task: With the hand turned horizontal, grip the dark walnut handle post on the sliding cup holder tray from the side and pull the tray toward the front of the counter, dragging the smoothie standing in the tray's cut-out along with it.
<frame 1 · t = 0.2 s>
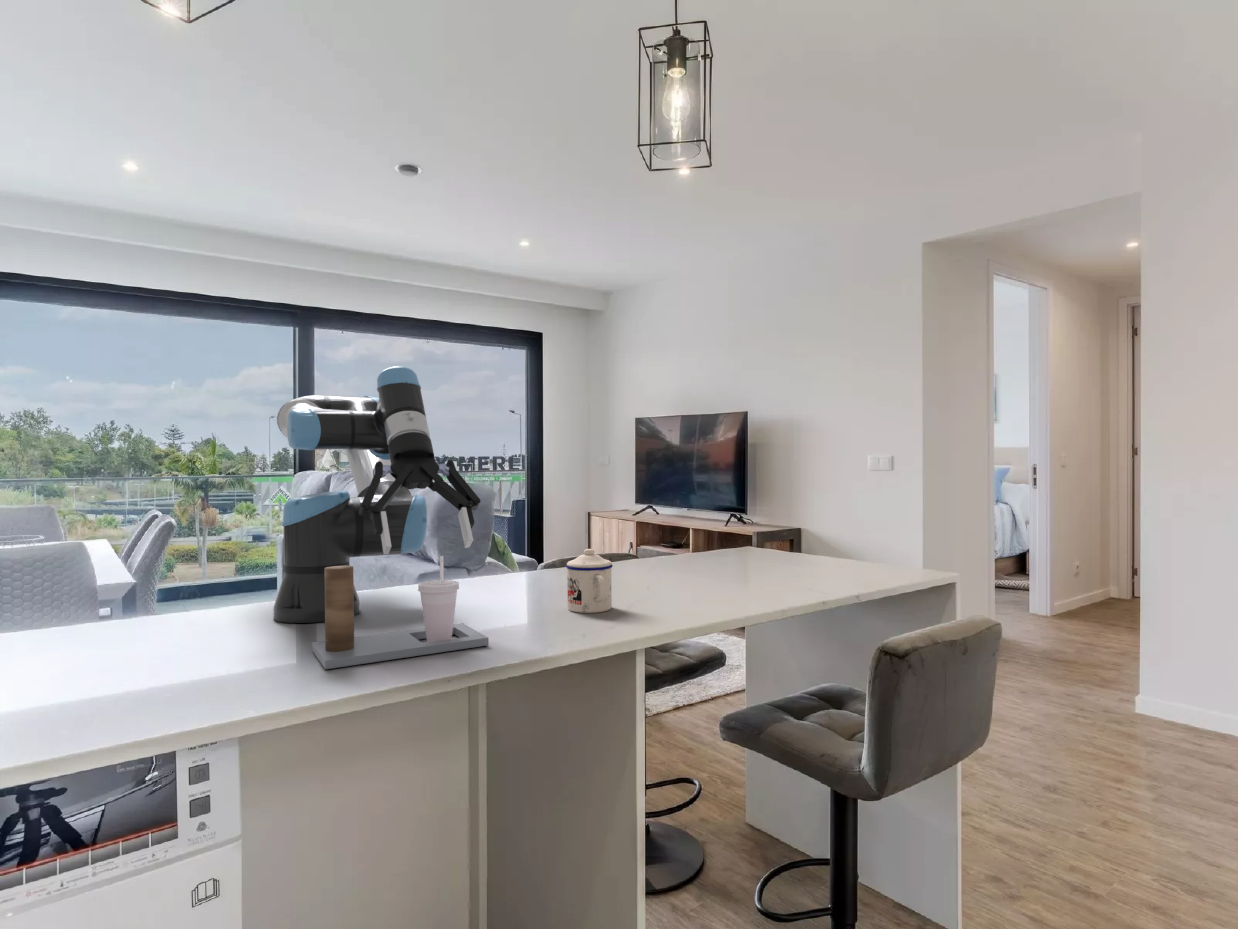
hand: (429, 547, 119), 15 cm above the table, tool tilted 35°, fingers open, 13 cm apart
smoothie: (439, 644, 115), resting in cup holder tray
cup holder tray: (400, 605, 111), point 7 cm above the table, slide at 0.0 cm
teacup with lid: (592, 611, 139), on the table
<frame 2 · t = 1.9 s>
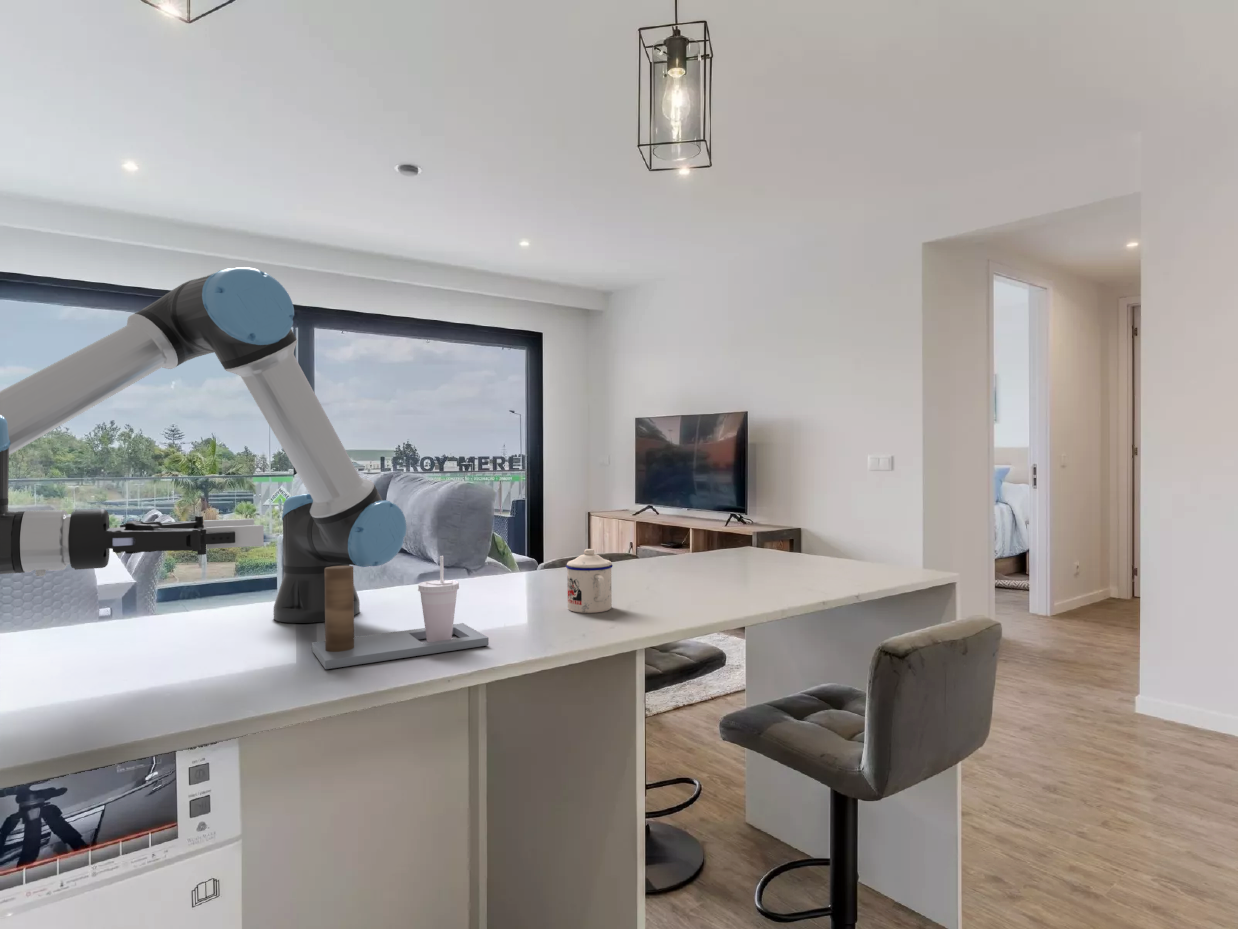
hand: (258, 531, 101), 19 cm above the table, tool horizontal, fingers open, 13 cm apart
nothing on the table moved.
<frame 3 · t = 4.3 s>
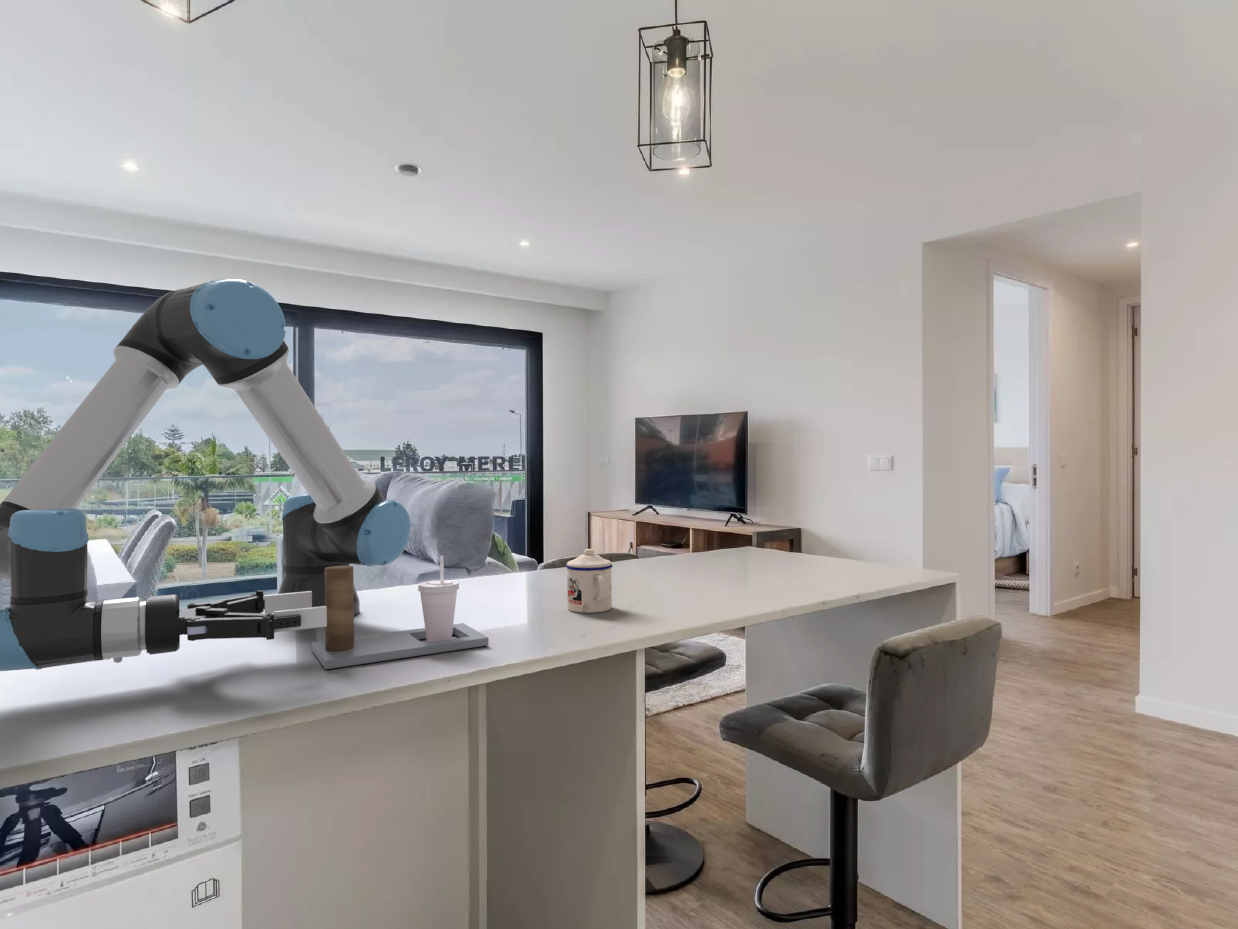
hand: (318, 607, 105), 8 cm above the table, tool horizontal, fingers open, 13 cm apart
nothing on the table moved.
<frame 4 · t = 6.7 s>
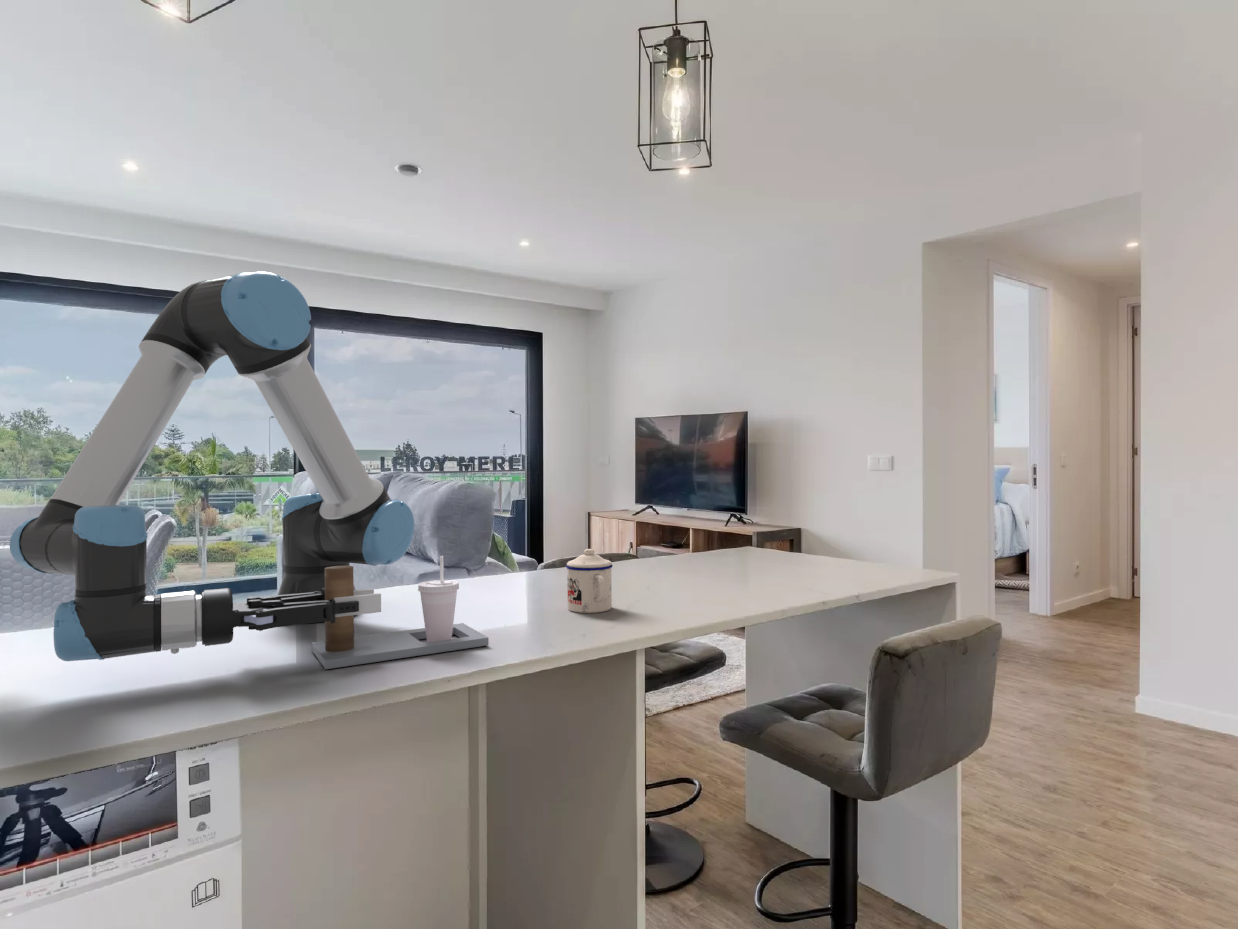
hand: (376, 600, 110), 8 cm above the table, tool horizontal, fingers closed on cup holder tray, 4 cm apart
cup holder tray: (400, 605, 111), point 7 cm above the table, slide at 0.0 cm, touching gripper
everything else where it was.
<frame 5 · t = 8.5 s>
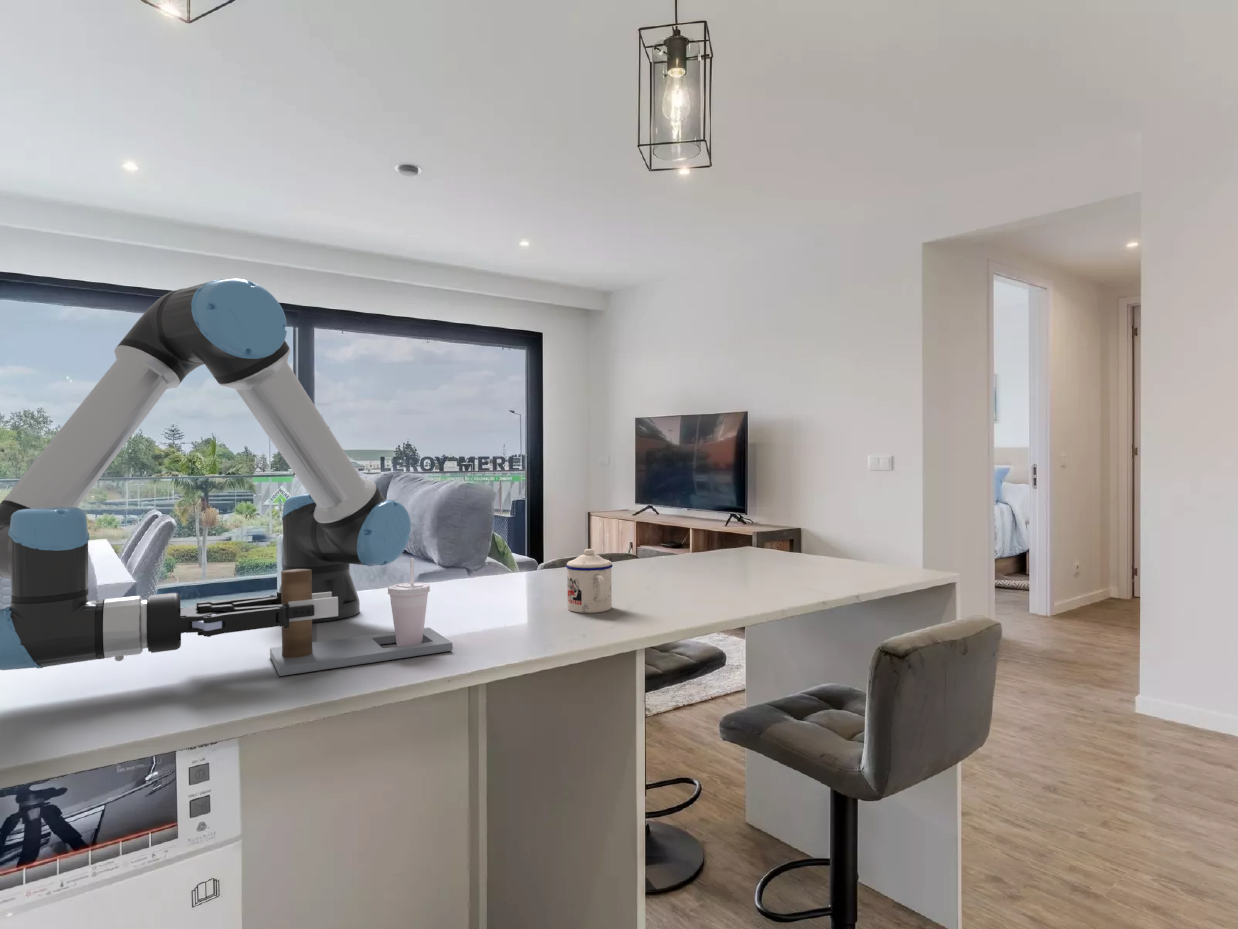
hand: (334, 603, 106), 8 cm above the table, tool horizontal, fingers closed on cup holder tray, 4 cm apart
smoothie: (409, 648, 112), resting in cup holder tray
cup holder tray: (361, 609, 108), point 7 cm above the table, slide at 5.8 cm, touching gripper, smoothie
everything else where it was.
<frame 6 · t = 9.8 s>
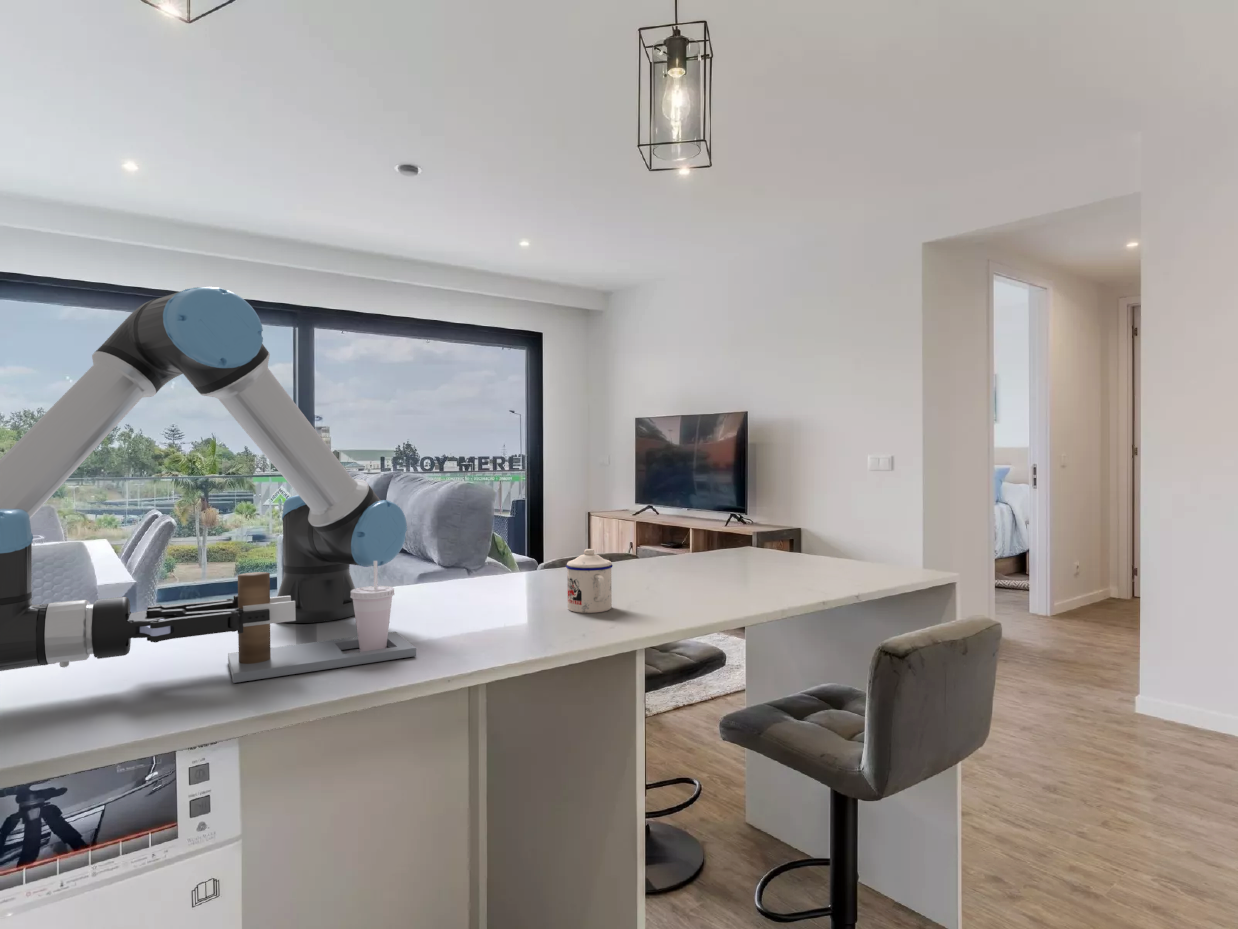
hand: (292, 607, 103), 8 cm above the table, tool horizontal, fingers closed on cup holder tray, 4 cm apart
smoothie: (373, 654, 109), resting in cup holder tray
cup holder tray: (322, 613, 106), point 7 cm above the table, slide at 11.3 cm, touching gripper, smoothie
everything else where it was.
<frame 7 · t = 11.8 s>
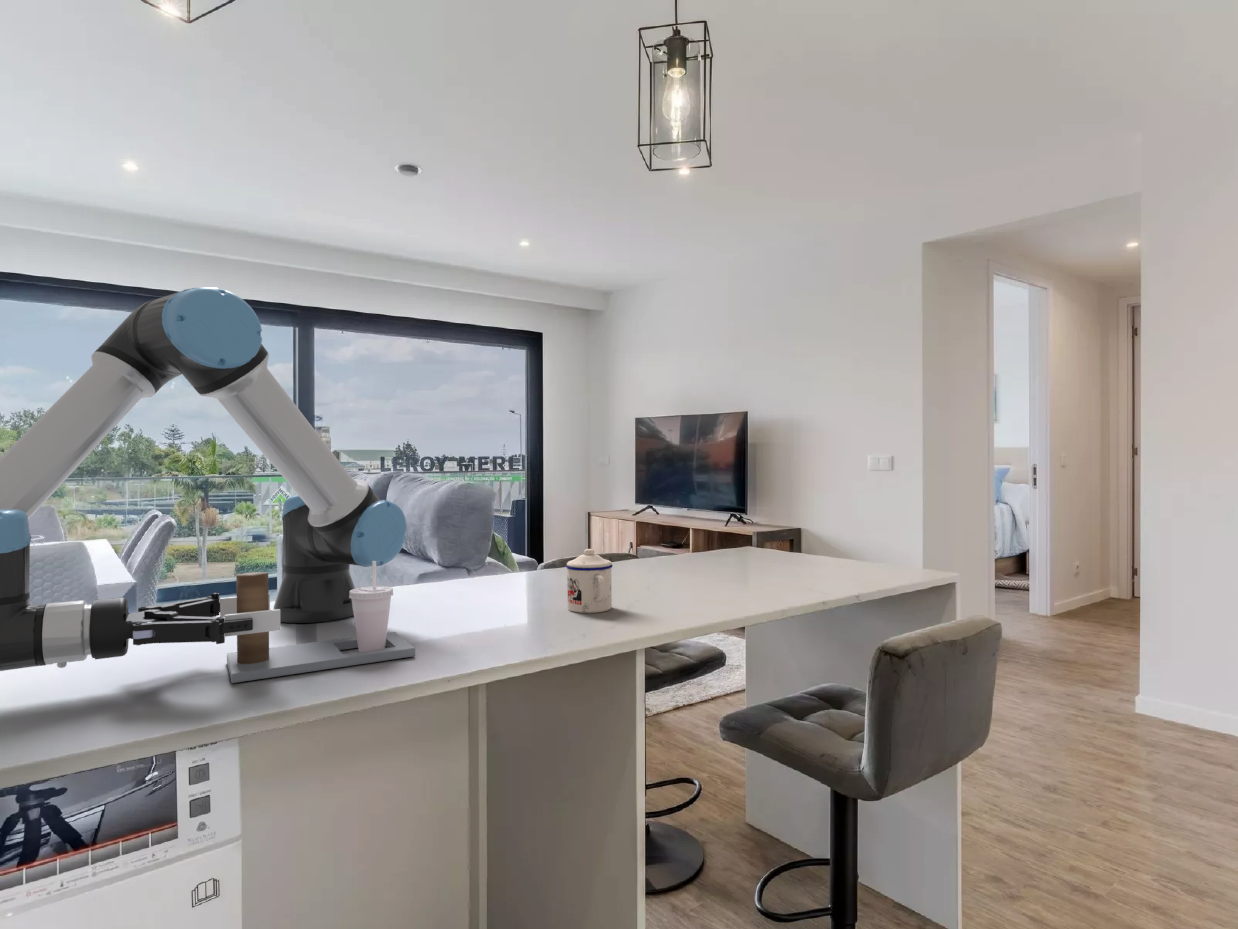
hand: (274, 610, 102), 8 cm above the table, tool horizontal, fingers open, 13 cm apart
smoothie: (371, 654, 109), resting in cup holder tray
cup holder tray: (321, 613, 105), point 7 cm above the table, slide at 11.5 cm
everything else where it was.
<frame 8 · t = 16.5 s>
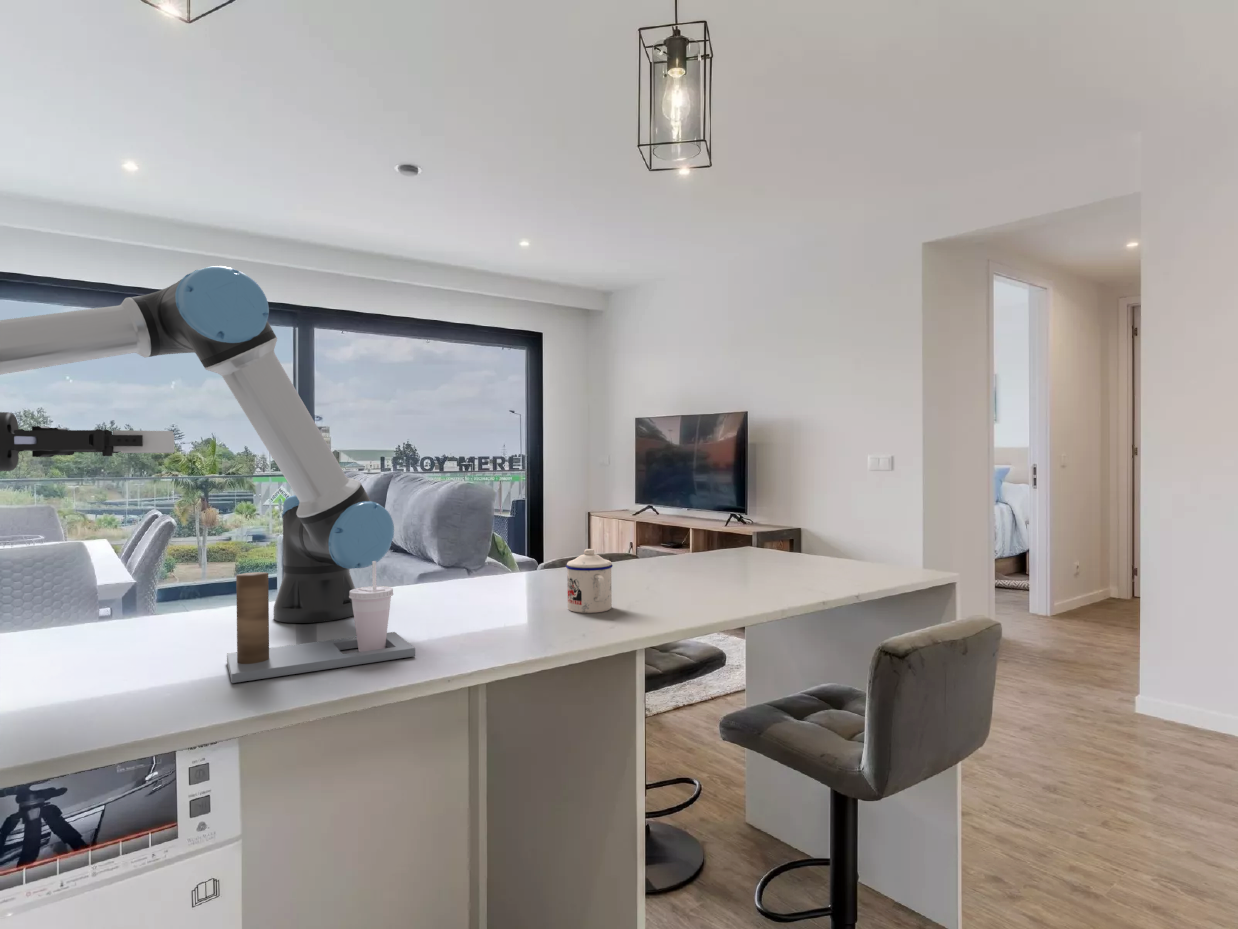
hand: (174, 442, 101), 32 cm above the table, tool horizontal, fingers open, 13 cm apart
nothing on the table moved.
at the end: cup holder tray slide at 11.5 cm; smoothie inside the target area (1.6 cm from its centre), resting in cup holder tray; smoothie tilted 0° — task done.
